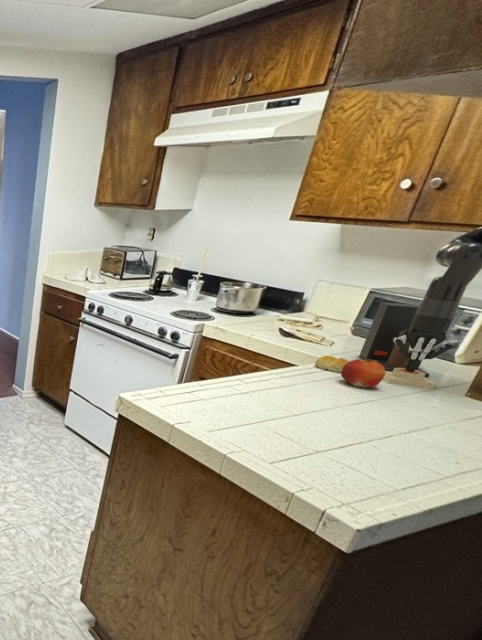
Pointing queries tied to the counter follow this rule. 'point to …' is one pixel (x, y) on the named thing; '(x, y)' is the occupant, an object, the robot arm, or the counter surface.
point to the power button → (409, 371)
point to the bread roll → (331, 363)
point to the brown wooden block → (398, 354)
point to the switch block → (408, 378)
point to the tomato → (363, 373)
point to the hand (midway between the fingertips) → (409, 370)
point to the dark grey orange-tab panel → (387, 332)
